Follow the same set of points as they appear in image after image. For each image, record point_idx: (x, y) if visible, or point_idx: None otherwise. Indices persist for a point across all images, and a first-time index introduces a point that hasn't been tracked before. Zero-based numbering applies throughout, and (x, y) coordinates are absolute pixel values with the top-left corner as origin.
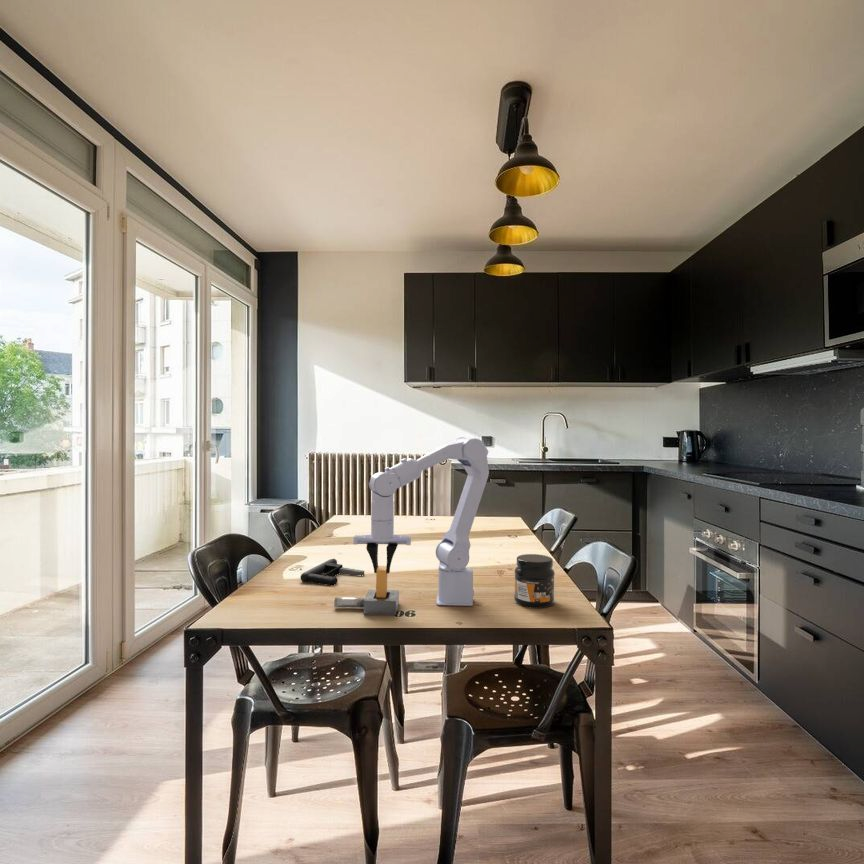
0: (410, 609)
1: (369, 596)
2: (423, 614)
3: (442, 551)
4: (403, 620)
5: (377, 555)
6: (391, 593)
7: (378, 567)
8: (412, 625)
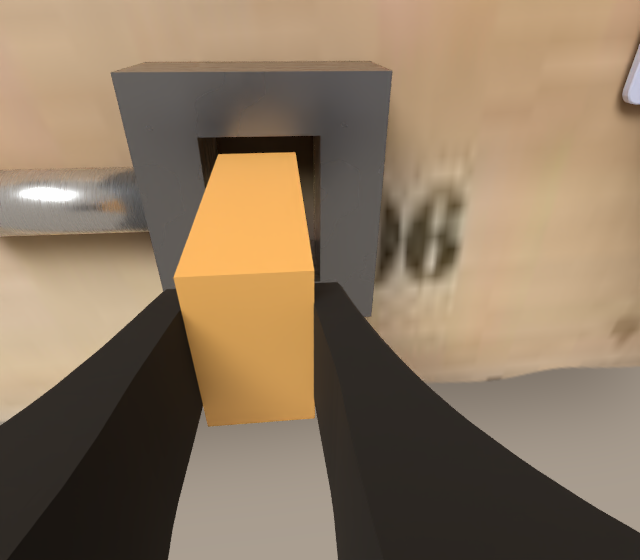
0: (440, 177)
1: (181, 250)
2: (499, 247)
3: None
4: (394, 325)
5: (113, 432)
6: (332, 168)
7: (202, 351)
8: (429, 367)
